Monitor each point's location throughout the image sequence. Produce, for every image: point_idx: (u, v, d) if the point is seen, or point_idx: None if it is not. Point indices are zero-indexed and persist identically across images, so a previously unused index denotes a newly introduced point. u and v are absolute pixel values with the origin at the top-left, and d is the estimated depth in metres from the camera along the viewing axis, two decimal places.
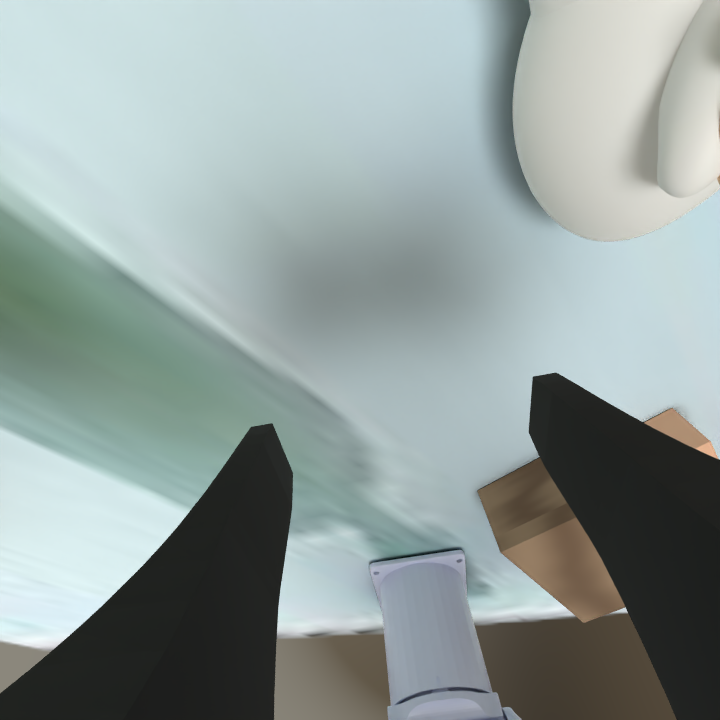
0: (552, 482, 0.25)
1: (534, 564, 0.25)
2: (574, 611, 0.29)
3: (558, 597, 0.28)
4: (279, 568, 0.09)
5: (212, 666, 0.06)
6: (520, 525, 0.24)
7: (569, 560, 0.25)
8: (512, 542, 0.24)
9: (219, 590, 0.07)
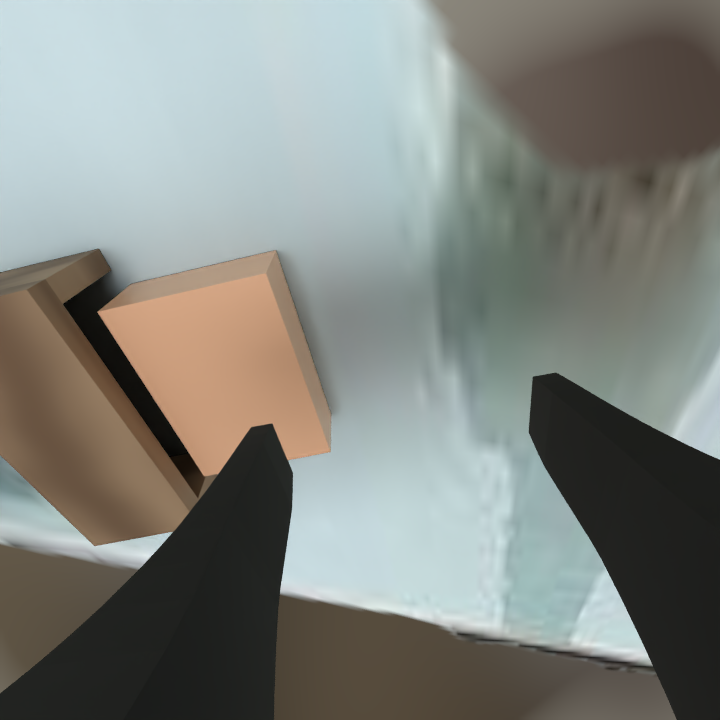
0: (45, 270, 0.15)
1: None
2: (70, 518, 0.19)
3: (32, 480, 0.18)
4: (279, 568, 0.09)
5: (212, 666, 0.06)
6: None
7: (23, 401, 0.15)
8: None
9: (219, 590, 0.07)
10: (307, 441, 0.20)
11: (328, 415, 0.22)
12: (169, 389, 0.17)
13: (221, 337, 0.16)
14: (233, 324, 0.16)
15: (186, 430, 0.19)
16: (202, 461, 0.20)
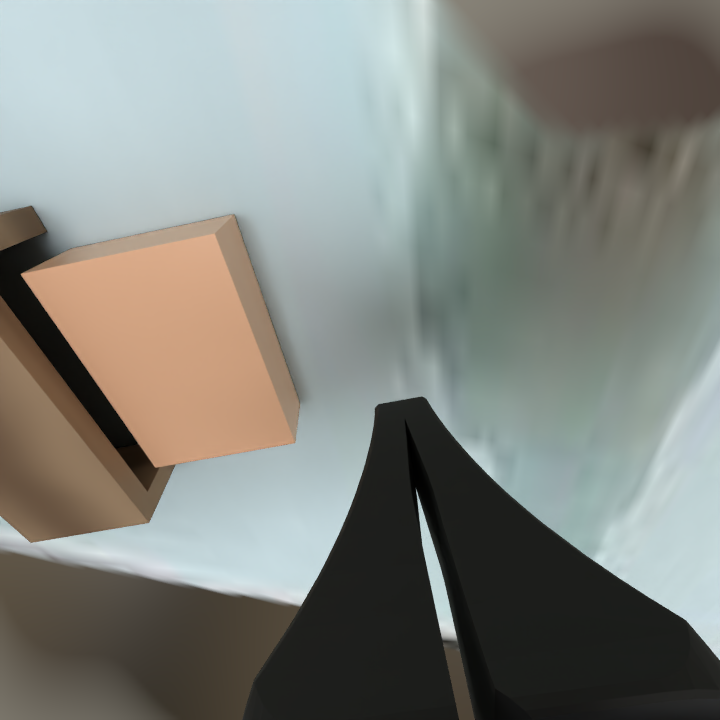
0: None
1: None
2: (1, 511, 0.17)
3: None
4: None
5: None
6: None
7: None
8: None
9: None
10: (269, 430, 0.18)
11: (296, 404, 0.20)
12: (110, 367, 0.16)
13: (166, 308, 0.14)
14: (179, 293, 0.14)
15: (132, 415, 0.17)
16: (152, 450, 0.18)
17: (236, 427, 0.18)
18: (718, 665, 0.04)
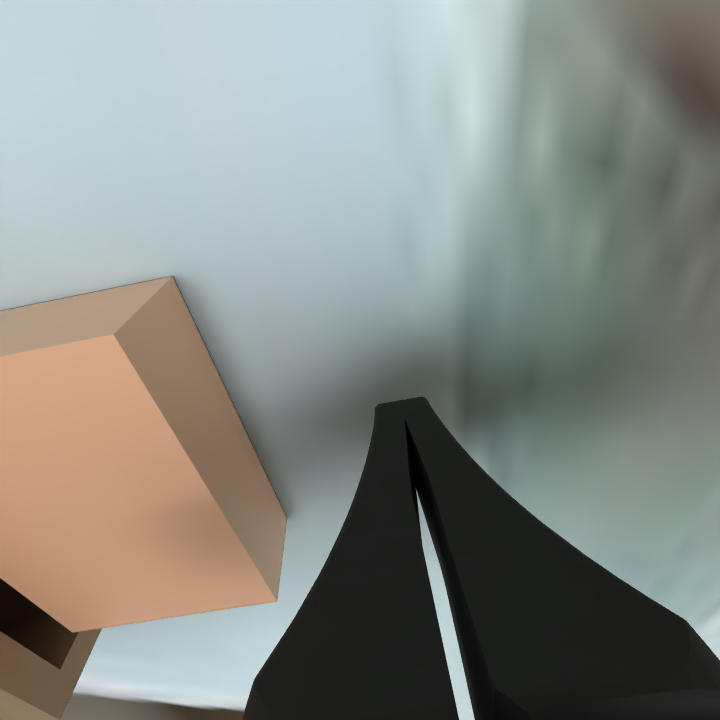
0: None
1: None
2: None
3: None
4: None
5: None
6: None
7: None
8: None
9: None
10: (237, 589, 0.12)
11: (280, 527, 0.14)
12: None
13: (47, 446, 0.08)
14: (66, 424, 0.08)
15: (23, 578, 0.11)
16: (63, 615, 0.12)
17: (187, 587, 0.12)
18: (718, 665, 0.04)
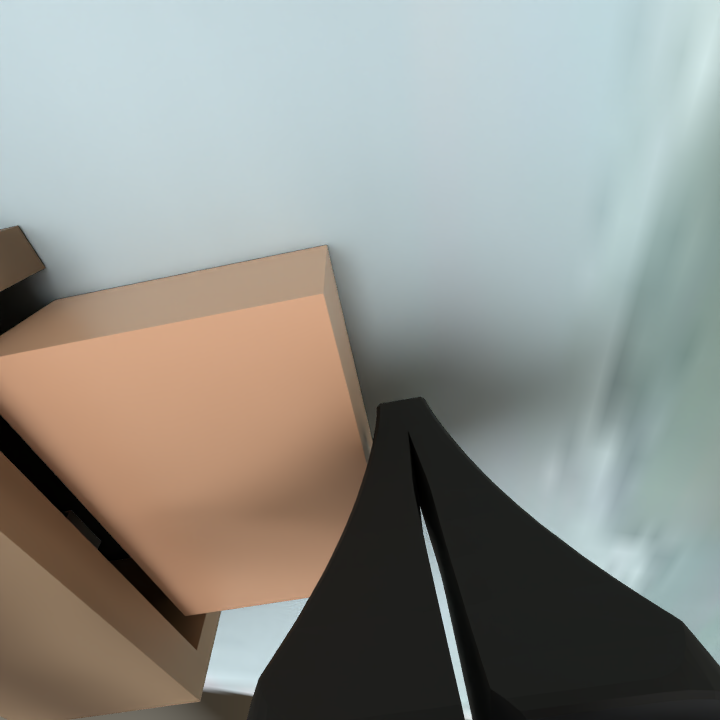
0: None
1: None
2: None
3: None
4: None
5: None
6: None
7: None
8: None
9: None
10: None
11: None
12: (120, 499, 0.09)
13: (220, 416, 0.08)
14: (246, 392, 0.08)
15: (153, 558, 0.11)
16: (182, 597, 0.12)
17: (312, 568, 0.11)
18: (714, 666, 0.04)
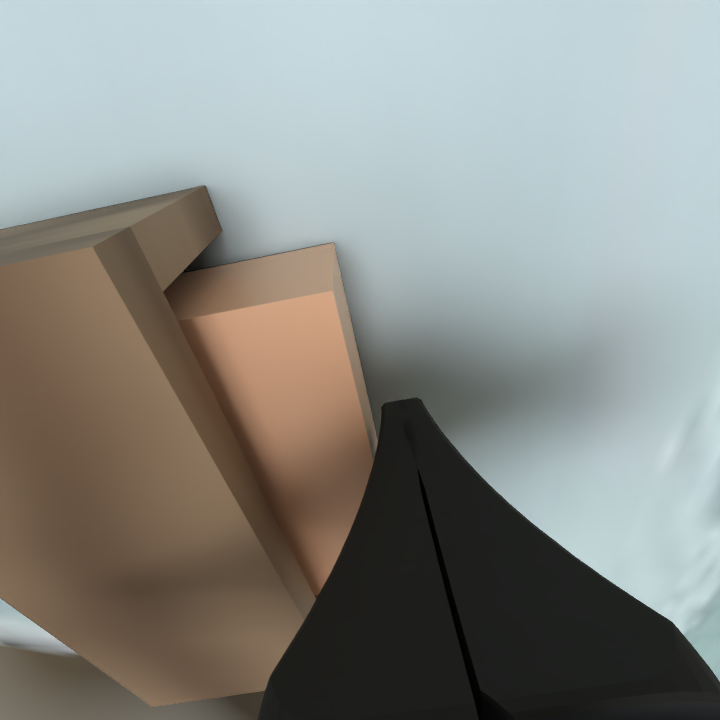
0: (112, 216, 0.07)
1: None
2: (119, 677, 0.11)
3: (56, 630, 0.09)
4: None
5: None
6: None
7: (54, 506, 0.07)
8: None
9: None
10: None
11: None
12: None
13: (228, 413, 0.08)
14: (254, 389, 0.08)
15: None
16: None
17: (318, 566, 0.11)
18: (703, 668, 0.04)
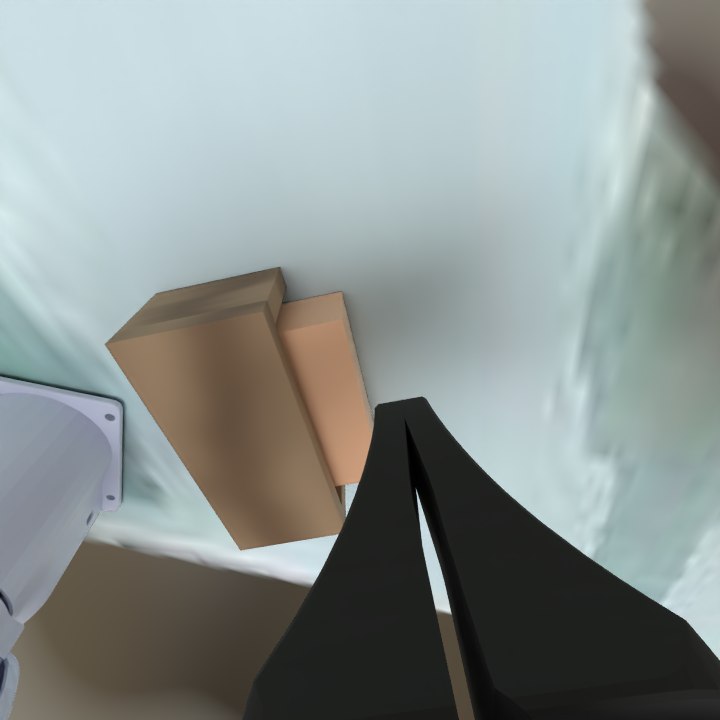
0: (247, 289, 0.16)
1: (166, 400, 0.16)
2: (227, 524, 0.20)
3: (204, 488, 0.18)
4: None
5: None
6: (163, 322, 0.15)
7: (223, 413, 0.16)
8: (132, 335, 0.14)
9: None
10: (361, 468, 0.21)
11: None
12: None
13: None
14: (306, 364, 0.17)
15: None
16: None
17: (334, 466, 0.21)
18: (718, 665, 0.04)
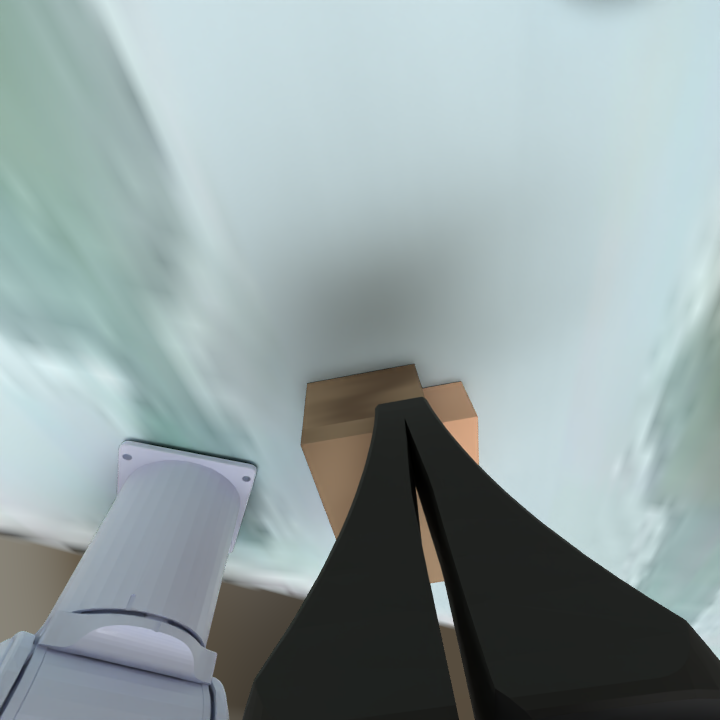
0: (399, 390, 0.19)
1: (334, 483, 0.19)
2: None
3: None
4: None
5: None
6: (340, 423, 0.18)
7: None
8: (321, 437, 0.17)
9: None
10: None
11: None
12: None
13: None
14: None
15: None
16: None
17: None
18: (718, 665, 0.04)
